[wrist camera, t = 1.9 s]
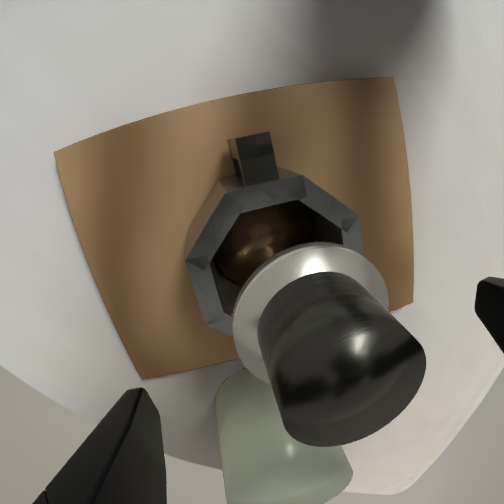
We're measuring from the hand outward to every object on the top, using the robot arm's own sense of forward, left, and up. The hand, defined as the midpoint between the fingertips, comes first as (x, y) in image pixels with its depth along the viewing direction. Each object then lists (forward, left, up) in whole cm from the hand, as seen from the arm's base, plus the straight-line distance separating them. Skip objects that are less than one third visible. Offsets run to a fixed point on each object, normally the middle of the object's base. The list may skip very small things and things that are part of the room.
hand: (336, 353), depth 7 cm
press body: (0, 0, -10) cm, 10 cm away
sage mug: (+2, +12, -11) cm, 16 cm away
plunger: (0, 0, -5) cm, 5 cm away
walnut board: (0, 0, -11) cm, 11 cm away
